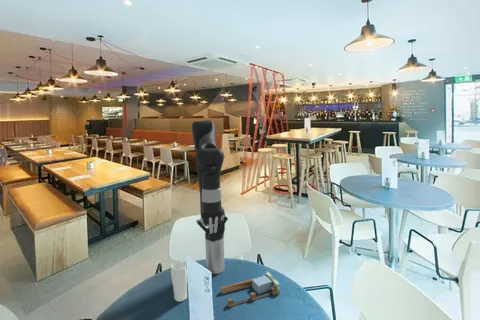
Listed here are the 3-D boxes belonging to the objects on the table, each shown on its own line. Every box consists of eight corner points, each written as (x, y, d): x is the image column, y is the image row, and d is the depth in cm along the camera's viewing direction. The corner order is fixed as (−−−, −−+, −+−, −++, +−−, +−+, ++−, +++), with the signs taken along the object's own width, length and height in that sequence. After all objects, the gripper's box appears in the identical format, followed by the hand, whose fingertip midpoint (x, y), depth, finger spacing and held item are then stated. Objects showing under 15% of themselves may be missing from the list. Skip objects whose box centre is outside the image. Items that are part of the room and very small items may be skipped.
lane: (220, 291, 116) (220, 283, 116) (268, 279, 125) (268, 271, 124) (228, 307, 106) (228, 298, 106) (280, 292, 115) (280, 284, 114)
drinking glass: (172, 304, 108) (170, 270, 106) (172, 294, 115) (170, 262, 113) (189, 301, 110) (187, 267, 108) (188, 292, 117) (186, 260, 115)
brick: (252, 287, 119) (252, 279, 119) (265, 283, 122) (265, 275, 122) (258, 294, 114) (258, 286, 114) (272, 289, 118) (272, 281, 117)
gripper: (224, 194, 110) (225, 234, 112) (192, 198, 105) (194, 240, 107) (230, 199, 103) (231, 241, 105) (197, 203, 98) (198, 248, 100)
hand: (212, 241), depth 106 cm, fingers closed
